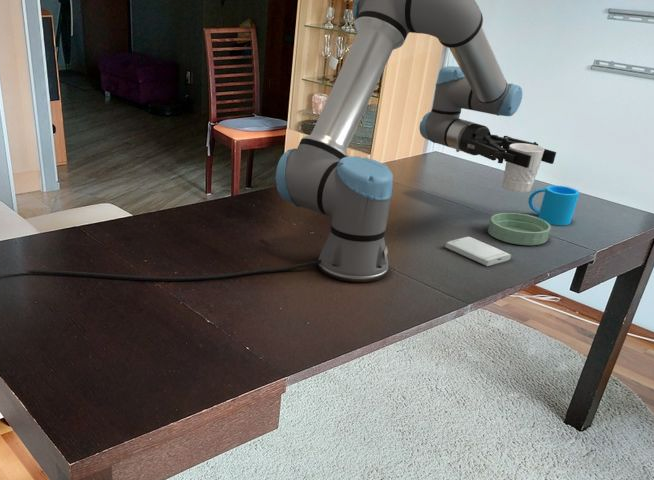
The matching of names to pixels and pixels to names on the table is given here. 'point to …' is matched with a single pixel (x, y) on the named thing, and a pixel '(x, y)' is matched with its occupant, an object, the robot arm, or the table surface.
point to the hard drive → (478, 251)
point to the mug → (556, 204)
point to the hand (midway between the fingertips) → (541, 159)
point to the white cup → (522, 168)
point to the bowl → (519, 228)
